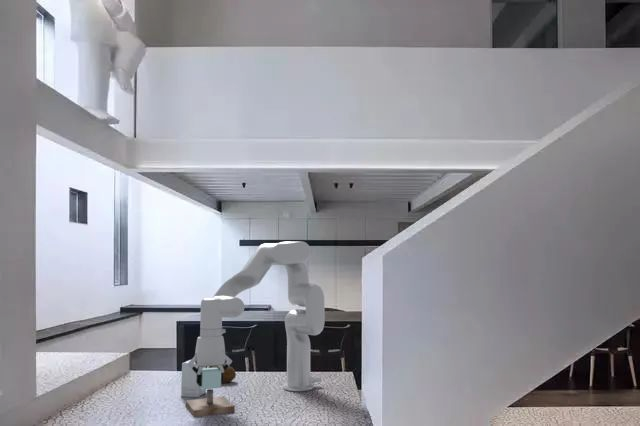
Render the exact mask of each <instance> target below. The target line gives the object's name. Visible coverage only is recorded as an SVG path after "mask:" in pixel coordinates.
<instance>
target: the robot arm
mask: <svg viewBox="0 0 640 426" xmlns="http://www.w3.org/2000/svg"><path fill="white" fill-rule="evenodd" d="M311 253H312V250H311V247H310V245H309V244H308V243H307V242H306V241H299V240H298V241H290V240H289V241H280V242H276V243H274V242H273V243H271V242H270V243H269V242H267V243H262V244H260V245H259V246H258V247H257V248H256V250H254V252H253V254H251V257H249V259H248V261H247V262H246V263H245V265H244V266H243V267H242V268H241V270H240V271H238V272H237V273H235V274H234V275H233V276H232V277H230V278H229V279H227V280H226V281H225V282H224V283H223V284H222V285H221V286H219V288H218V290H217V291H216V293H215V294H214V296H213V297H204V298H203V299H201V302H200V324H199V326H200V330H199V336H198V337H197V339H196V345H195V350H194V351H195V352H194V356H193V357H192V358H191V359H189V360H190V361H189V360H188V361H189V363H188V366H189V367H190V368H191V369H192V370H193V371H194V372H196V373H197V380H196V382H197V384H198V385H199V386H202V375H201V371H202V369H203V367H205V366H206V367H212V366H218V369H219V370H221V385H222V381H223V373H224V371H225V370H226V369H227V368H228V366H230V365H231V364H232V362H233V360H232V359H231V358H230V357H229V356H228V355H227V354H226V347H225V346H226V345H225V339H224V336H223V334H225V333H226V332H227V331H226V328H223V318H229V319H231V318H232V319H235V318H238V317H240V316H241V315H243V313H244V310H245V303H244V301H243V300H242V299H240V298H239V297H236V296H238V295H239V294H240V293H242V292H245V291H246V290H249V289H252V288H254V287H256V286H258V285H259V284H260V283H261V282H262V280H263V279H264V277H265V276H266V275H267V273H268V271H269V270H270V269H271V267H272V266H284V267H285V269H286V273H287V299H288V301H289V304H291V305H292V306H295V307H303V308H305V309H300V308H296V309H295V308H294V309H292V310H290V311H288V312H287V314H286V315H285V317H284V327H285V332H286V344H287V345H286V382H285V383H284V384H283V385H282V388H283V390H285V391H289V392H306V391H312V390H313V389H314V388H315V385H314V384H315V383H321V382H322V377H321V376H312V375H311V340H310V337H309V335H310V336H318V335H320V334H321V332H323V330H324V326H325V321H326V320H325V319H326V318H325V317H326V316H325V309H326V308H325V294H324V290H323V289H322V287H321V286H320V285H318V284H316V283H310V281H309V272H308V271H309V270H308V269H309V268H308V267H307V263H306V262H307V261H309V259H310V257H311ZM194 362H195V364H197V365H198V367H197V368H196V367H195V366H194V365H193V364H194ZM223 364H224V365H223ZM222 365H223V366H222Z"/></svg>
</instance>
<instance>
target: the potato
mask: <svg viewBox="0 0 640 426" xmlns="http://www.w3.org/2000/svg"><path fill="white" fill-rule="evenodd" d="M224 364H225V363H224ZM224 364H223V365H224ZM223 365H222V366H223ZM210 368H218V366H210ZM236 374H237V373H236V370H235V369H234V368H233V366H230V365H229V366H228V368H227V369H226V370H225V371H224V373H223V381H222V383H224V384H225V383H230V382H233V381H234V379H235V378H236V377H237V375H236Z"/></svg>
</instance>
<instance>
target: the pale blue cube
mask: <svg viewBox="0 0 640 426" xmlns="http://www.w3.org/2000/svg"><path fill="white" fill-rule="evenodd" d="M201 375H202V386H200V387H201V388H202V389H206V390H208V389H213V390H214V389H221V388H222V384H221V370H219V369H218V368H211V367H209V368H208V367H206V368H204V369H202V371H201Z"/></svg>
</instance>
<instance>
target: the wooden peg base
mask: <svg viewBox="0 0 640 426" xmlns="http://www.w3.org/2000/svg"><path fill="white" fill-rule="evenodd" d="M235 406H236V405H234V404H233V403H232V402H231V401H230V400H229V399H228V398H227V397H225V396H214V389H206V397H204V398H196V399H194V398H193V399H188V400H187V399H186V400H185V407H186V409H187V411H188V412H189V413H190V414H191V416H193V417H194V418H195V417H203V416H210V415H211V416H212V415H218V414H219V415H220V414H227V413H235V411H236V410H235V409H236V408H235Z"/></svg>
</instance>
